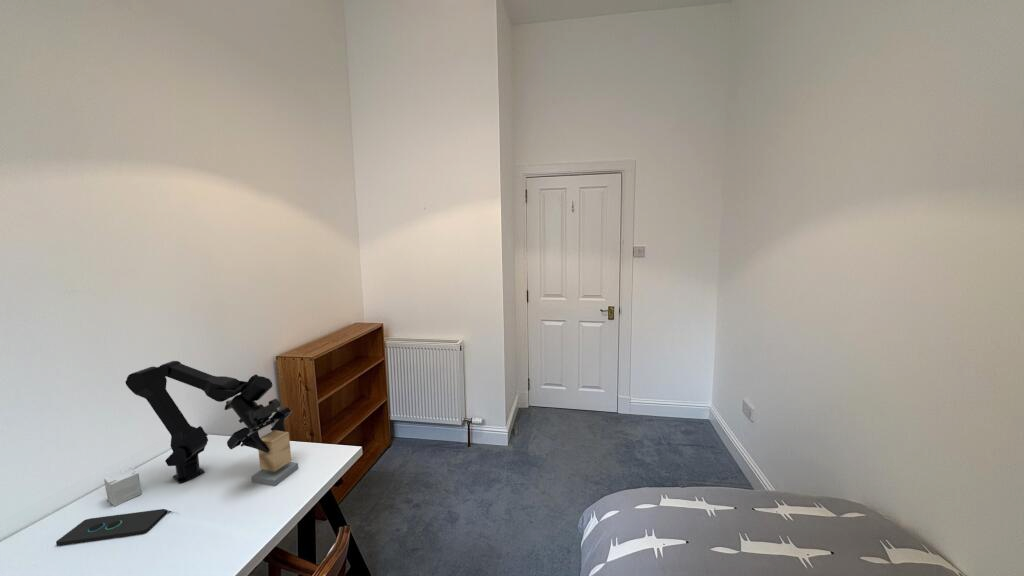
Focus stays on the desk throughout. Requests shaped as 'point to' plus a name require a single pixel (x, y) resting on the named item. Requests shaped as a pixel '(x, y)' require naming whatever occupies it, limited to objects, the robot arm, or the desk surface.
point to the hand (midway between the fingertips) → (277, 446)
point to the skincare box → (122, 486)
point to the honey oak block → (275, 451)
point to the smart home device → (112, 527)
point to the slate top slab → (274, 474)
